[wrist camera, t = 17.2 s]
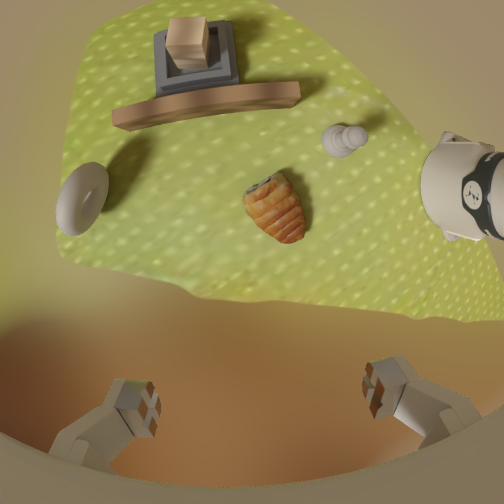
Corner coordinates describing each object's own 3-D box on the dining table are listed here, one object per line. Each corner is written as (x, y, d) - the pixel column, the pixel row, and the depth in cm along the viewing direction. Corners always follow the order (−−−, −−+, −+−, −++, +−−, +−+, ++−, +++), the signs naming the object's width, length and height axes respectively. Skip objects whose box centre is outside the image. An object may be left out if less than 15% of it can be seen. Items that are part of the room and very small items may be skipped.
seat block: (231, 24, 30) (231, 14, 27) (239, 87, 33) (239, 81, 30) (155, 36, 29) (150, 28, 26) (158, 101, 32) (152, 95, 29)
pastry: (315, 224, 39) (323, 230, 35) (276, 252, 39) (279, 260, 36) (277, 168, 36) (282, 167, 33) (236, 197, 37) (236, 200, 33)
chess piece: (333, 118, 34) (357, 107, 27) (358, 140, 35) (386, 135, 28) (314, 143, 35) (334, 136, 28) (340, 165, 36) (365, 164, 29)
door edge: (289, 94, 33) (298, 81, 27) (291, 108, 34) (301, 96, 28) (129, 118, 33) (111, 110, 27) (130, 131, 33) (112, 125, 27)
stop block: (211, 44, 30) (205, 16, 22) (208, 68, 31) (201, 44, 23) (182, 45, 29) (170, 18, 22) (178, 69, 30) (165, 46, 23)
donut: (103, 158, 34) (65, 157, 24) (122, 167, 35) (87, 167, 25) (81, 222, 36) (43, 237, 27) (98, 231, 37) (63, 249, 27)
